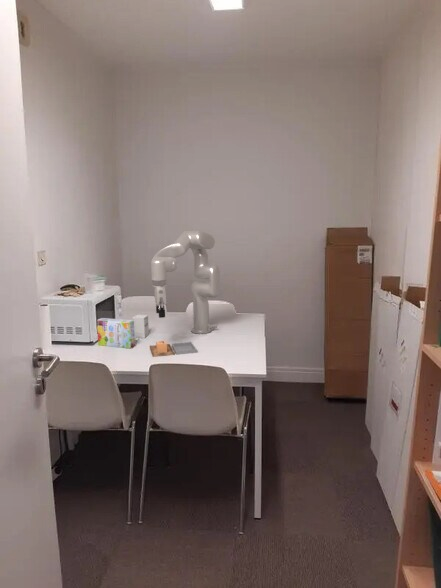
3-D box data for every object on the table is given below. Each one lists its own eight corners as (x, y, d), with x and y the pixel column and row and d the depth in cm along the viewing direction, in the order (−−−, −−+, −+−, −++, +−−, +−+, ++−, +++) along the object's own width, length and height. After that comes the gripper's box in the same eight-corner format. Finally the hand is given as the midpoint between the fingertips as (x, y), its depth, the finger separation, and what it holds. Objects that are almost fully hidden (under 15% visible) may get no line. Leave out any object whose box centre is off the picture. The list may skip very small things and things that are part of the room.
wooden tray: (169, 348, 245) (169, 343, 245) (174, 356, 232) (174, 351, 232) (149, 350, 243) (149, 345, 242) (152, 358, 229) (152, 353, 229)
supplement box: (144, 338, 264) (143, 317, 261) (133, 338, 265) (131, 317, 263) (149, 335, 271) (148, 314, 268) (137, 334, 272) (136, 314, 270)
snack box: (135, 346, 250) (134, 319, 247) (130, 349, 245) (129, 322, 242) (103, 342, 257) (101, 317, 254) (97, 345, 252) (95, 319, 249)
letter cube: (165, 349, 240) (165, 340, 239) (167, 352, 236) (166, 343, 235) (156, 350, 239) (155, 341, 238) (157, 353, 234) (157, 344, 233)
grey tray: (191, 346, 248) (191, 341, 248) (196, 354, 235) (196, 349, 235) (171, 348, 246) (171, 343, 245) (176, 356, 232) (175, 351, 232)
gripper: (169, 285, 224) (170, 318, 227) (164, 279, 240) (165, 310, 243) (154, 286, 222) (155, 319, 225) (150, 280, 238) (151, 312, 242)
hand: (160, 315), depth 234 cm, fingers open, 9 cm apart
